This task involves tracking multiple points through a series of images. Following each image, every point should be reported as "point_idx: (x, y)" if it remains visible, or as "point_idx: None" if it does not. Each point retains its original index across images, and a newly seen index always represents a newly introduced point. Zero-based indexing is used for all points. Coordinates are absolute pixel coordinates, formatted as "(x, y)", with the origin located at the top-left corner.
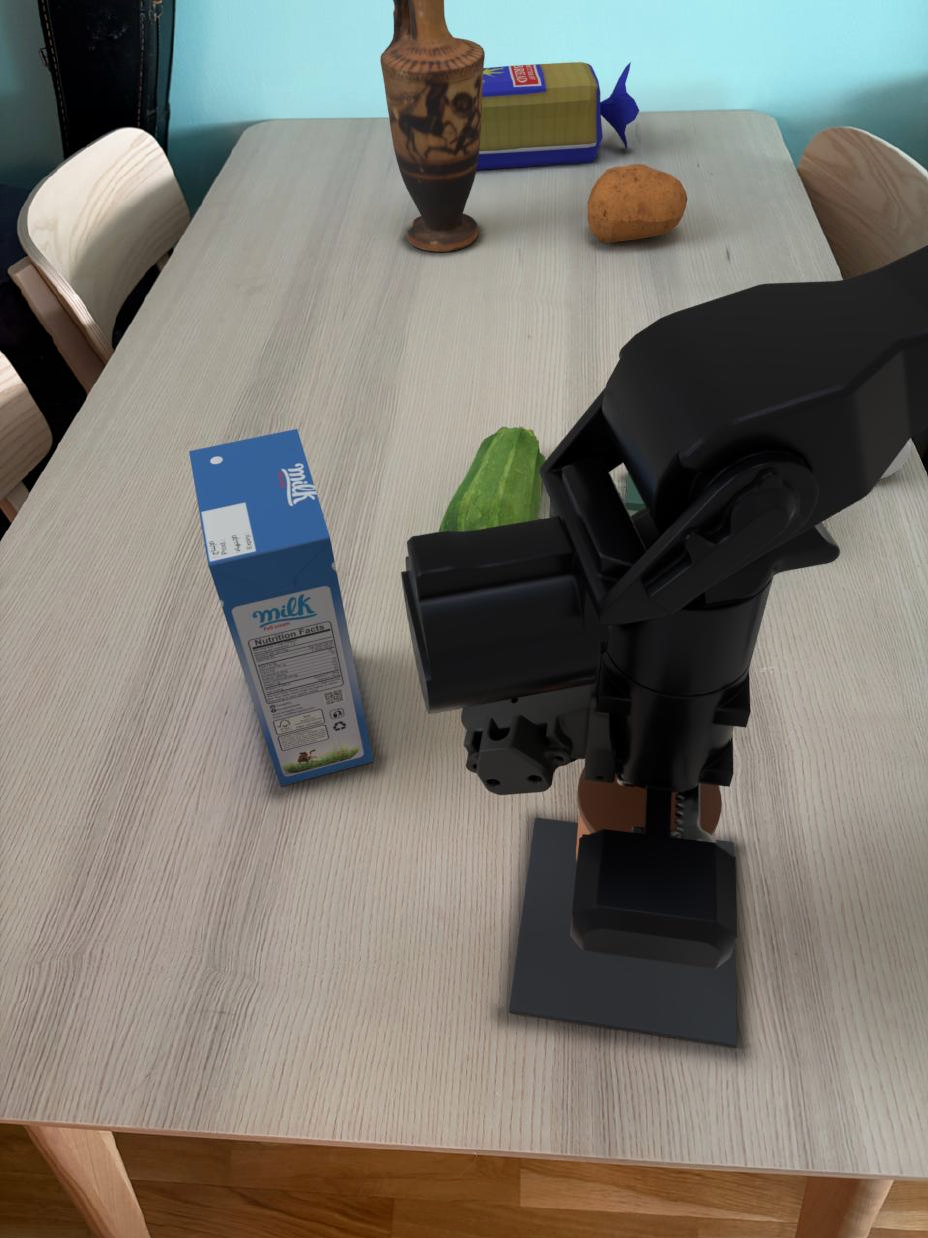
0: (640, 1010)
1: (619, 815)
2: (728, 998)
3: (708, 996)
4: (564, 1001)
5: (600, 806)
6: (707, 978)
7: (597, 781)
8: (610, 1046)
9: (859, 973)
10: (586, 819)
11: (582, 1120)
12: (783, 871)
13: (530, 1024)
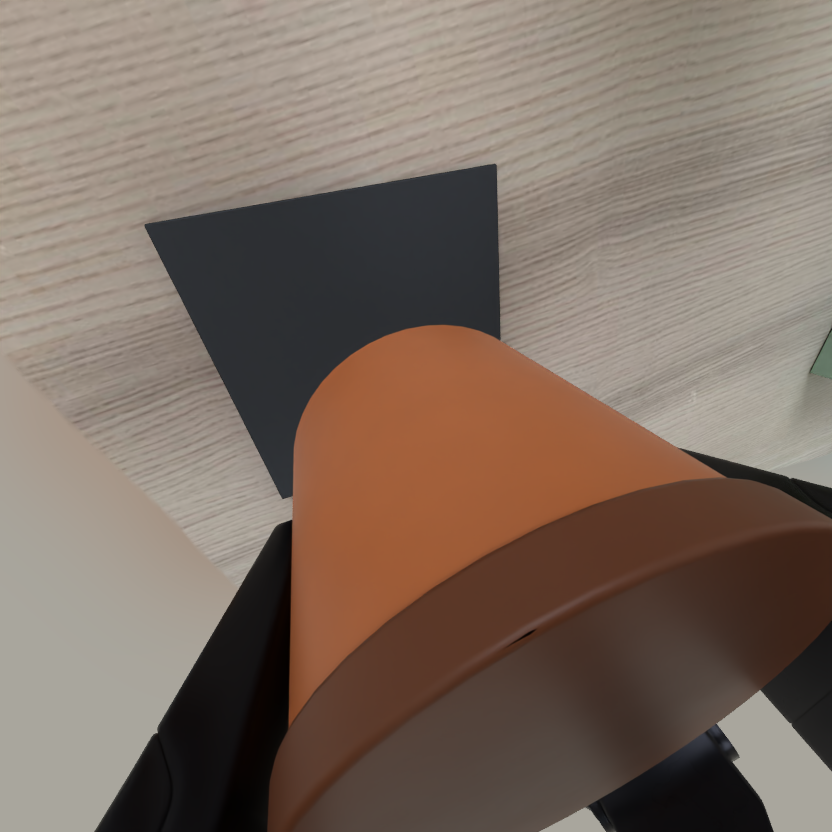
0: (264, 406)
1: (473, 772)
2: None
3: None
4: (216, 311)
5: (511, 709)
6: None
7: (675, 627)
8: (203, 383)
9: None
10: (394, 719)
11: (78, 383)
12: None
13: (157, 267)
